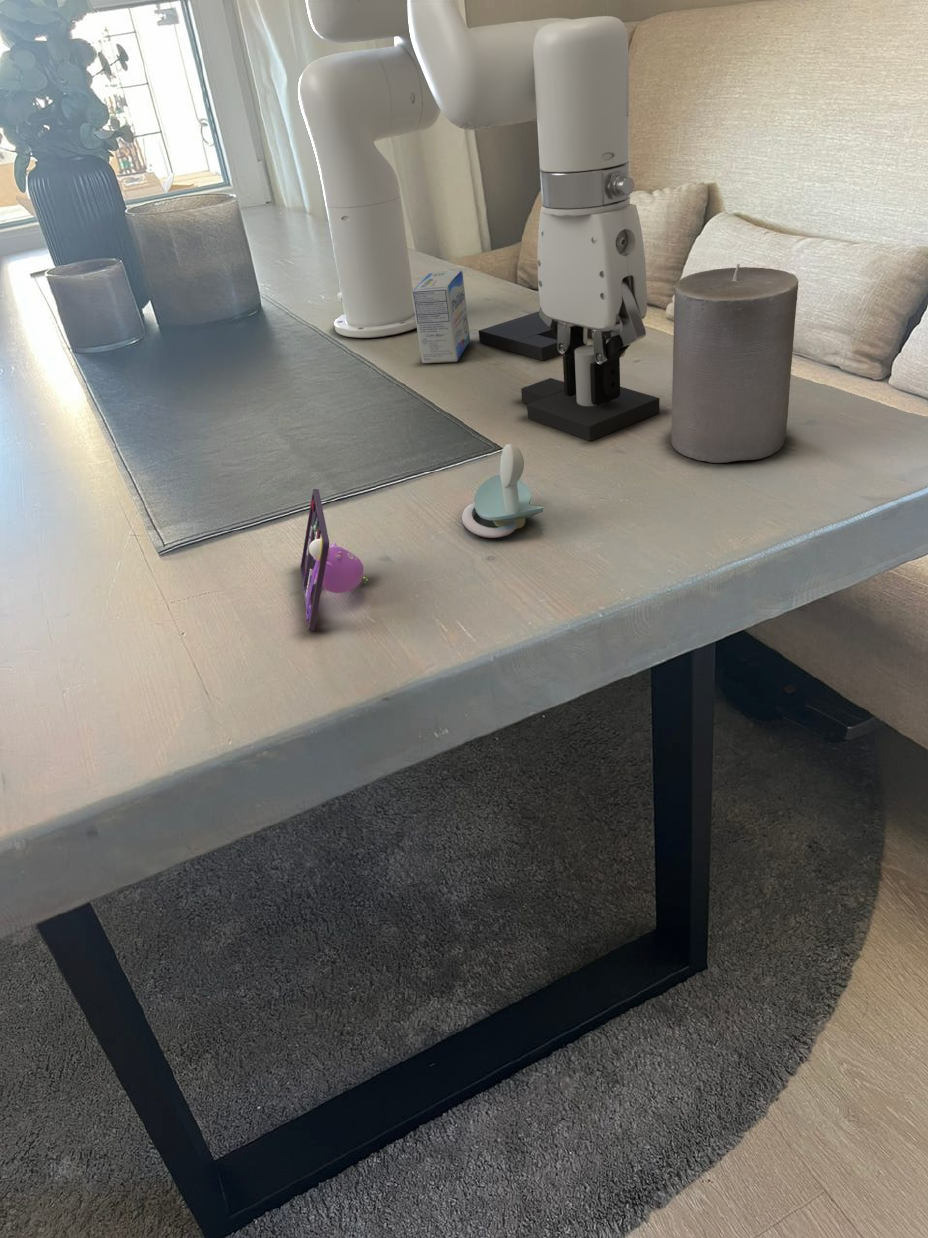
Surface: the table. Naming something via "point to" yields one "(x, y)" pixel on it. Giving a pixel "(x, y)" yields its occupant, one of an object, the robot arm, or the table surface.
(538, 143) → the robot arm
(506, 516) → the pacifier
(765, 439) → the pillar candle
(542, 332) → the big pad
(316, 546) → the purple panel with bulb
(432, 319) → the medicine box
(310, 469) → the table surface
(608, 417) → the small pad
